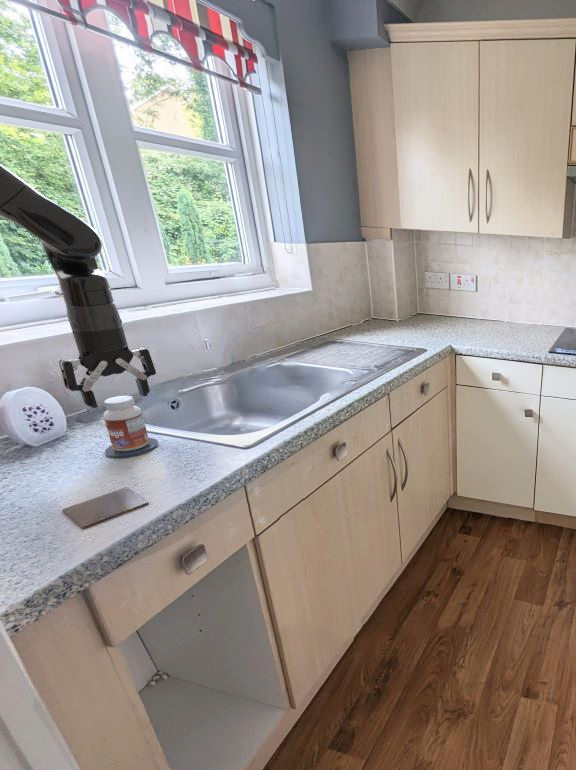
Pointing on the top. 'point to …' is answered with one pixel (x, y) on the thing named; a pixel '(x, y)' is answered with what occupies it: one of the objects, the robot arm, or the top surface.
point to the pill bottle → (125, 424)
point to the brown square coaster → (104, 507)
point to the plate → (121, 454)
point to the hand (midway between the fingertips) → (119, 401)
